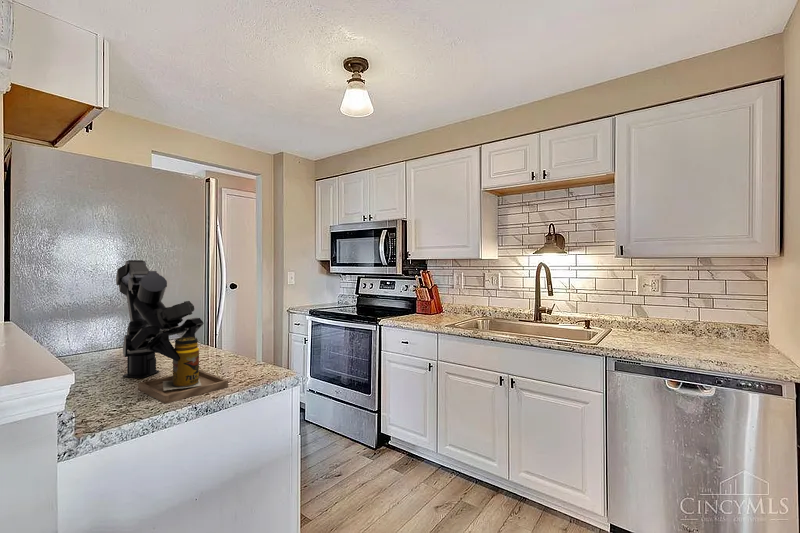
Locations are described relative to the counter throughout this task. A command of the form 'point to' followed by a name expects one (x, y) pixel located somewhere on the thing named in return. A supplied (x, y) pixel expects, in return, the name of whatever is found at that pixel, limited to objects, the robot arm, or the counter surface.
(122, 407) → the counter surface
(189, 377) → the condiment
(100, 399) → the counter surface
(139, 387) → the tray
